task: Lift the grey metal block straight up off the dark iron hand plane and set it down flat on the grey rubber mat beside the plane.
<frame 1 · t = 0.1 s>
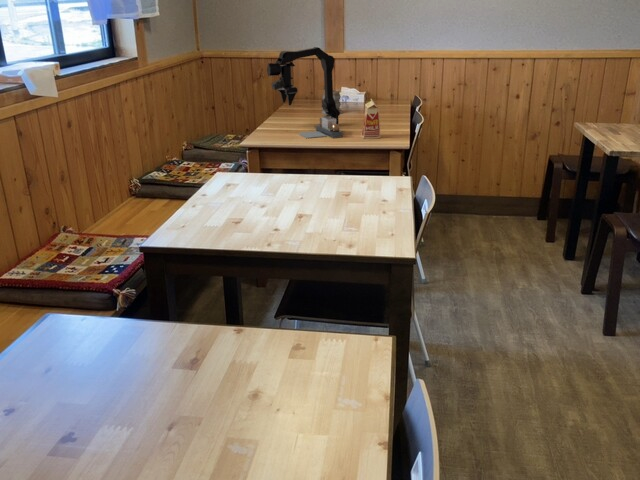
hand: (286, 103, 323), 15 cm above the table, tool pointing down, fingers open, 9 cm apart
hand plane: (329, 133, 319), on the table
rubber mat: (312, 135, 315), on the table
tankard: (331, 112, 379), on the table
milk carton: (370, 137, 311), on the table
grey metal block: (329, 127, 317), point 4 cm above the table, touching hand plane
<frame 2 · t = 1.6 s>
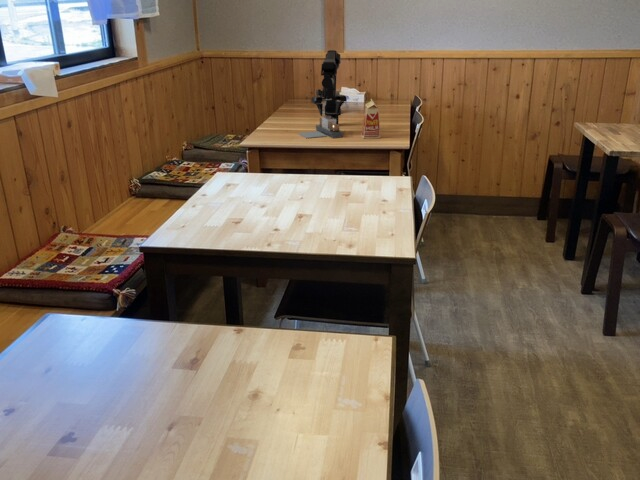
hand: (328, 115, 315), 10 cm above the table, tool pointing down, fingers open, 9 cm apart
nothing on the table moved.
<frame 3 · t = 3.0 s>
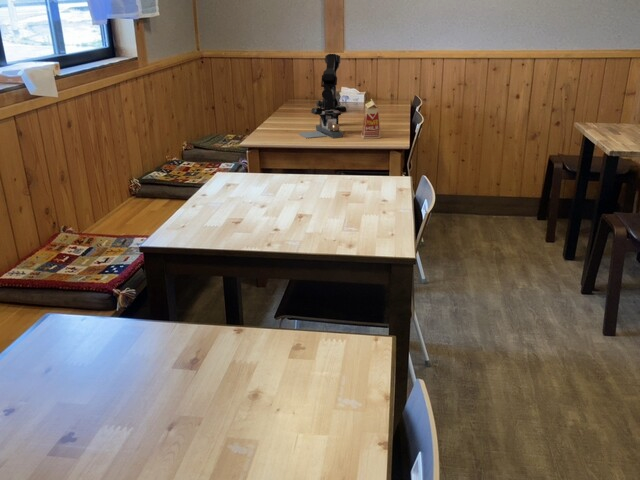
hand: (329, 125, 317), 4 cm above the table, tool pointing down, fingers closed on grey metal block, 5 cm apart
grey metal block: (329, 127, 317), point 4 cm above the table, touching gripper, hand plane
everything else where it was.
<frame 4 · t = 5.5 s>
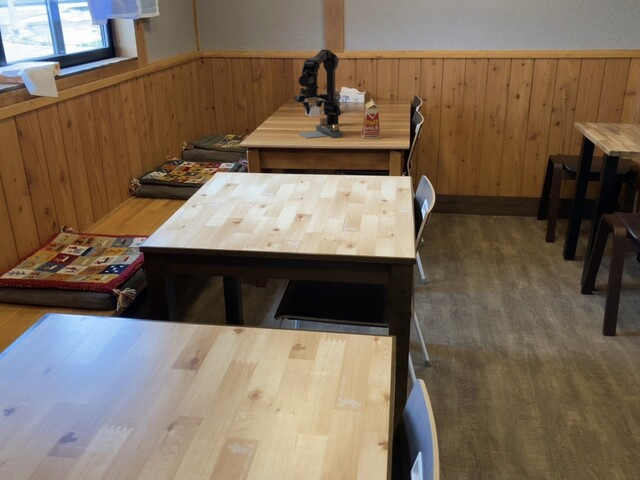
hand: (312, 113, 311), 12 cm above the table, tool pointing down, fingers closed on grey metal block, 5 cm apart
grey metal block: (312, 115, 311), point 11 cm above the table, touching gripper
everything else where it was.
when the fingers open (3 cm above the table, at t = 7.8 s): grey metal block drops 2 cm, resting on rubber mat.
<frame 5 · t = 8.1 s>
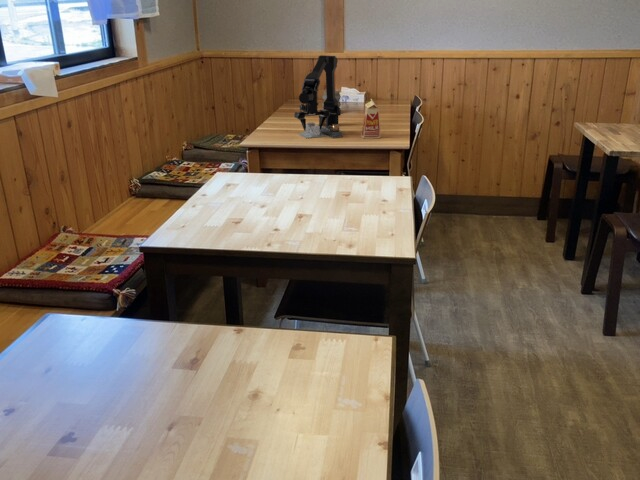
hand: (312, 129, 314), 3 cm above the table, tool pointing down, fingers open, 9 cm apart
grey metal block: (312, 134, 315), resting on rubber mat
everything else where it was.
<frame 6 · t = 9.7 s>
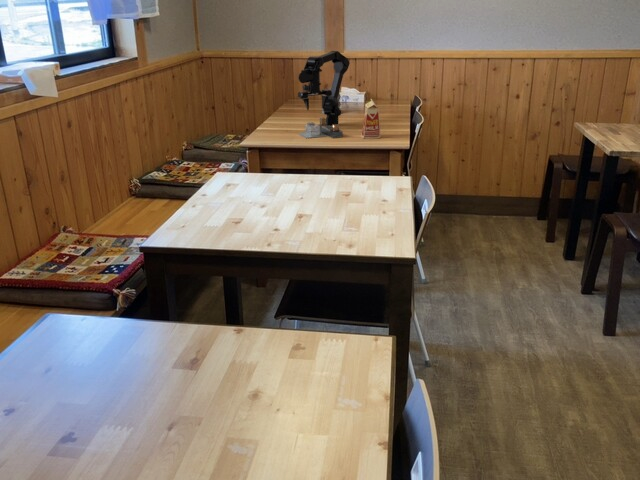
hand: (315, 109, 323), 12 cm above the table, tool pointing down, fingers open, 9 cm apart
nothing on the table moved.
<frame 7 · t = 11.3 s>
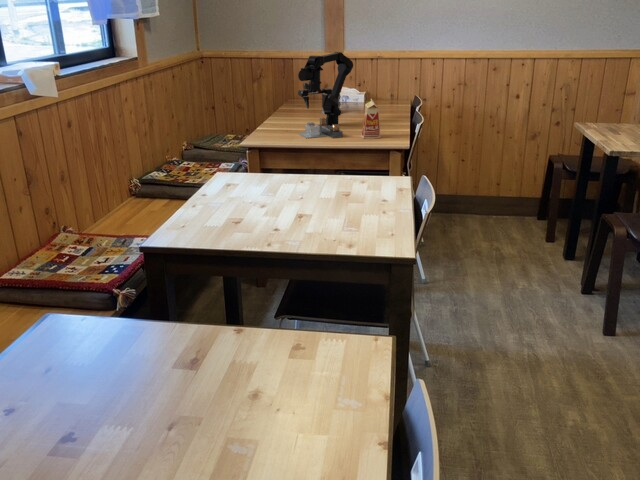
hand: (315, 107, 325), 12 cm above the table, tool pointing down, fingers open, 9 cm apart
nothing on the table moved.
at the end: grey metal block inside the target area on the rubber mat (0.0 cm from its centre), point 0.5 cm above the rubber mat's base; grey metal block tilted 0°; the gripper is holding nothing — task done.
